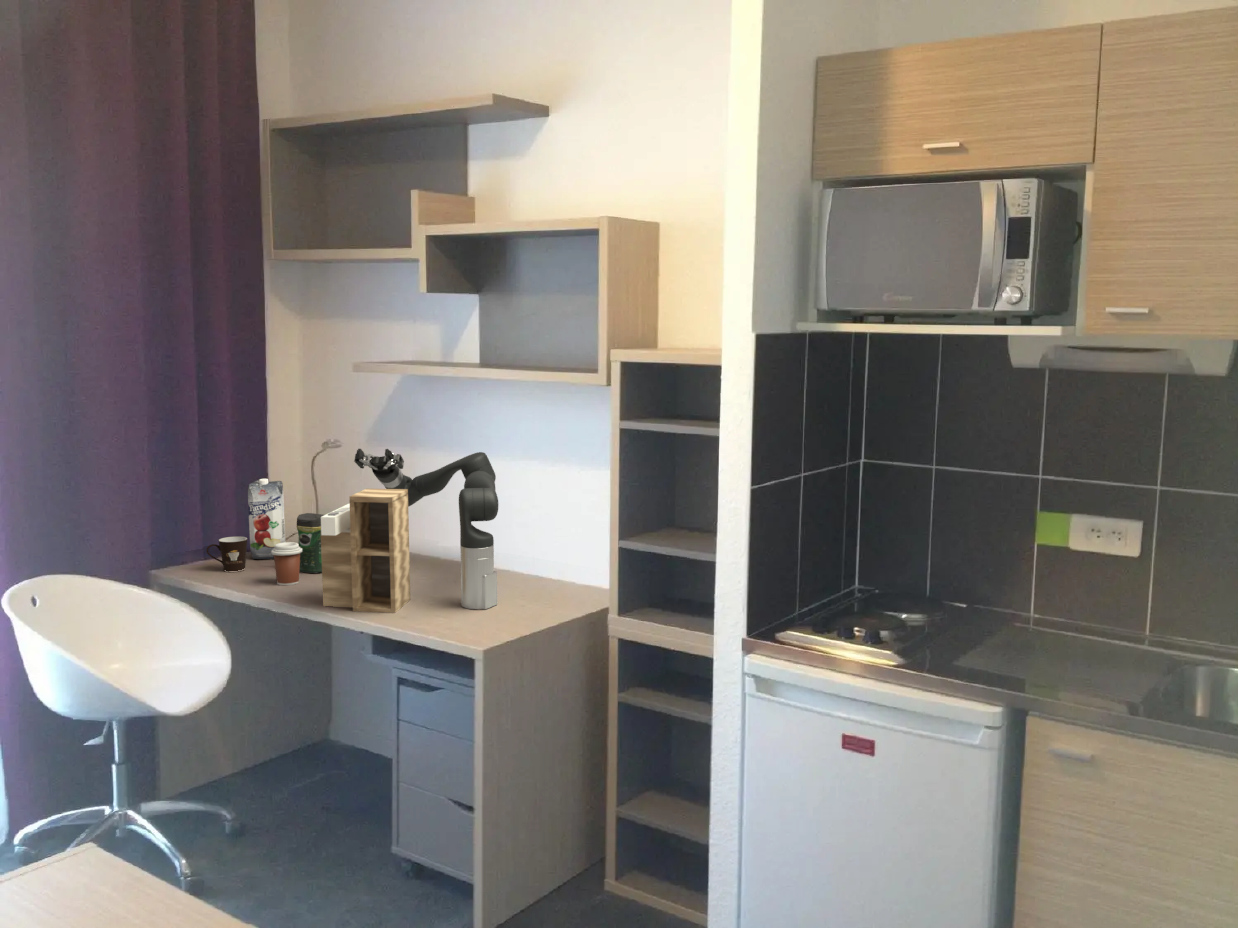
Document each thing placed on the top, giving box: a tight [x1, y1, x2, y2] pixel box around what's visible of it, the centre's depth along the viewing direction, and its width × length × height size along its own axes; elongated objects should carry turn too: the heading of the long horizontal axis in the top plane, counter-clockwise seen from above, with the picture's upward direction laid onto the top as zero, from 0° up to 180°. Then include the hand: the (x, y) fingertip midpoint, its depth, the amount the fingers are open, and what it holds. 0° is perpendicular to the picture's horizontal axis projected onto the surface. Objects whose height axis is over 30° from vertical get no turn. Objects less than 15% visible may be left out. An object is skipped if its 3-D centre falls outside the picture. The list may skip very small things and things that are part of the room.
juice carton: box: [247, 478, 286, 560], centre depth 363 cm, size 9×10×27 cm
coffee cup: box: [271, 541, 302, 586], centre depth 329 cm, size 9×9×12 cm
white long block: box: [321, 502, 350, 536], centre depth 305 cm, size 24×4×5 cm, turn 174°
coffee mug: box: [206, 536, 248, 571], centre depth 346 cm, size 12×9×10 cm
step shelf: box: [321, 488, 411, 613], centre depth 304 cm, size 16×22×32 cm
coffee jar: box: [296, 512, 325, 574], centre depth 344 cm, size 10×8×19 cm
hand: (372, 451), depth 327 cm, fingers open, 8 cm apart
